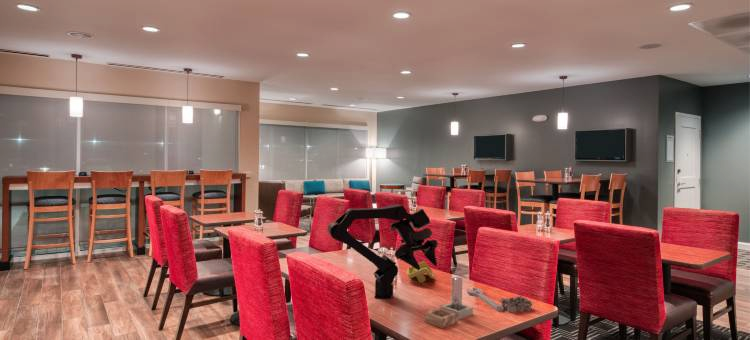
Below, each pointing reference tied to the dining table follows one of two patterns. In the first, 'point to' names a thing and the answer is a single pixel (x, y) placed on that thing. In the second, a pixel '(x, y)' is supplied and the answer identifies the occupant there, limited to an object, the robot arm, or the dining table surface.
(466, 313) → the square hollow frame
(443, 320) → the beige square ring
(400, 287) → the dining table surface
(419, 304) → the dining table surface
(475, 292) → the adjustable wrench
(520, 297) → the grey jagged open ring
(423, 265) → the plastic component
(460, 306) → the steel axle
